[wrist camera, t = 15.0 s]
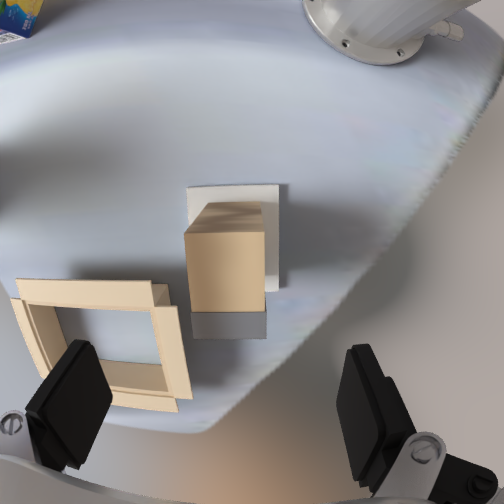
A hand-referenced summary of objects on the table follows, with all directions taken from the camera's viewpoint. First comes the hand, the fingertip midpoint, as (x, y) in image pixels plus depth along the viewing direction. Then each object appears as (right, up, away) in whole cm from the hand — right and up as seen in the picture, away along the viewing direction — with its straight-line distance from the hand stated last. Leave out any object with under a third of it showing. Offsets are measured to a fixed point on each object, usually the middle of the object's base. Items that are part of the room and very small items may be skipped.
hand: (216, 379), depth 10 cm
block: (0, +6, +18) cm, 18 cm away
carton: (-15, -4, +22) cm, 27 cm away
